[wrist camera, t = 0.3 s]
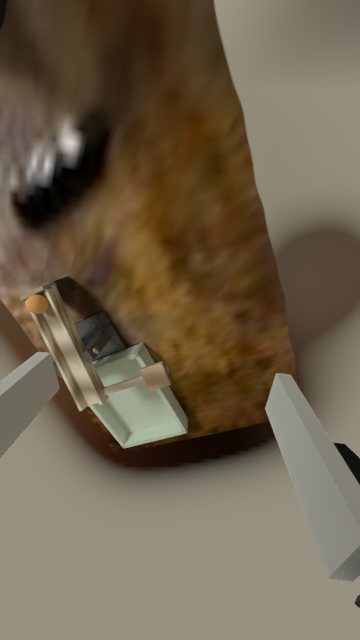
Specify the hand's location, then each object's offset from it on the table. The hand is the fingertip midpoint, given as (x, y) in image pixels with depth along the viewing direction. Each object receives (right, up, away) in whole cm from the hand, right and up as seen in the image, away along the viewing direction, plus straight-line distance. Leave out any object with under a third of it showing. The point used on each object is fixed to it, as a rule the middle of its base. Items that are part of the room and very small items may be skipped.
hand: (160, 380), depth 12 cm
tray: (-10, -14, +37) cm, 41 cm away
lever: (-12, +1, +24) cm, 27 cm away
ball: (-22, +6, +21) cm, 31 cm away
